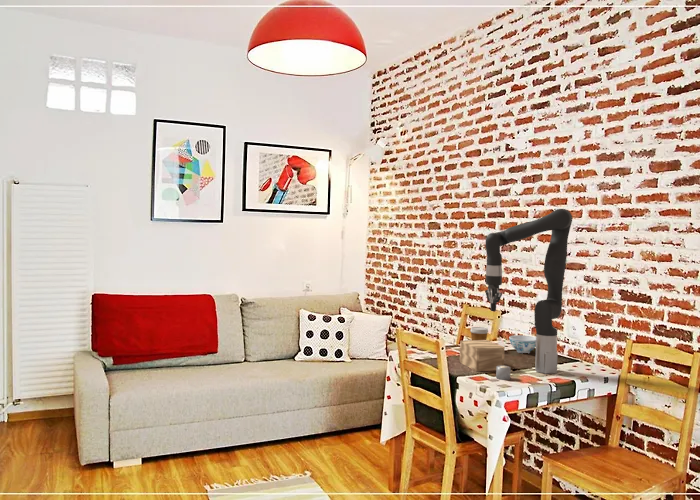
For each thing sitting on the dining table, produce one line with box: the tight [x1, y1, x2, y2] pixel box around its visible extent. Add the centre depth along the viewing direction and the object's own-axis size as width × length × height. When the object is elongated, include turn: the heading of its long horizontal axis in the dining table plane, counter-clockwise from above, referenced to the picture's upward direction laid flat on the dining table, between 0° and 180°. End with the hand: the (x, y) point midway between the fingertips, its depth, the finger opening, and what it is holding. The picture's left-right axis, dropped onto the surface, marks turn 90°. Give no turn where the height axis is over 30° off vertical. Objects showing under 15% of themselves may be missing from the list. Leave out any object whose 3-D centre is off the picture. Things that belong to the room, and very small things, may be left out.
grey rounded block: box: [495, 365, 512, 381], centre depth 266 cm, size 6×6×5 cm
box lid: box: [459, 339, 505, 350], centre depth 288 cm, size 18×14×1 cm
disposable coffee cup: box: [469, 326, 489, 340], centre depth 324 cm, size 10×10×12 cm
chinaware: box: [509, 334, 536, 354], centre depth 321 cm, size 15×15×8 cm
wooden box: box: [459, 341, 505, 372], centre depth 288 cm, size 18×14×10 cm
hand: (493, 310), depth 288 cm, fingers closed
